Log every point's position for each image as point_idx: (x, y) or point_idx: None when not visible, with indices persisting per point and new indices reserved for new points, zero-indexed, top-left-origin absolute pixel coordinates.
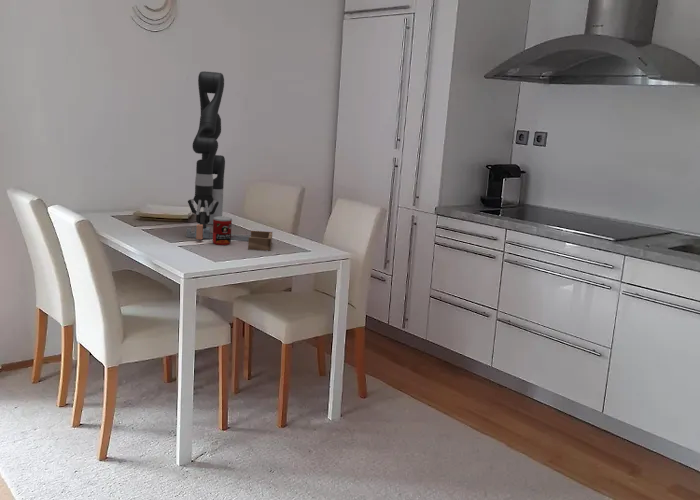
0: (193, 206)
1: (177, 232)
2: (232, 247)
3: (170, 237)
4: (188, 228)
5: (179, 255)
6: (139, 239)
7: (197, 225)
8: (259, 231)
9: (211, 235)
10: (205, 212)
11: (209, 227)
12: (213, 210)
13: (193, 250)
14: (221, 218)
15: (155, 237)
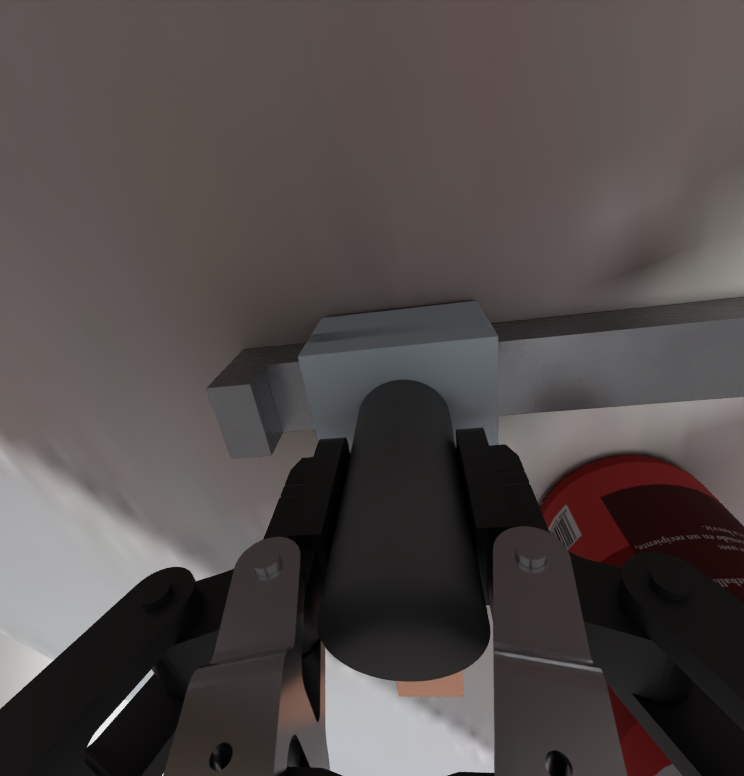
0: (80, 772)
1: (64, 217)
2: None
3: (153, 461)
4: (232, 419)
5: (402, 764)
6: (33, 573)
7: (408, 694)
8: None
9: (512, 408)
10: (462, 646)
11: (487, 359)
12: (719, 764)
13: (442, 698)
14: None
15: (66, 497)
